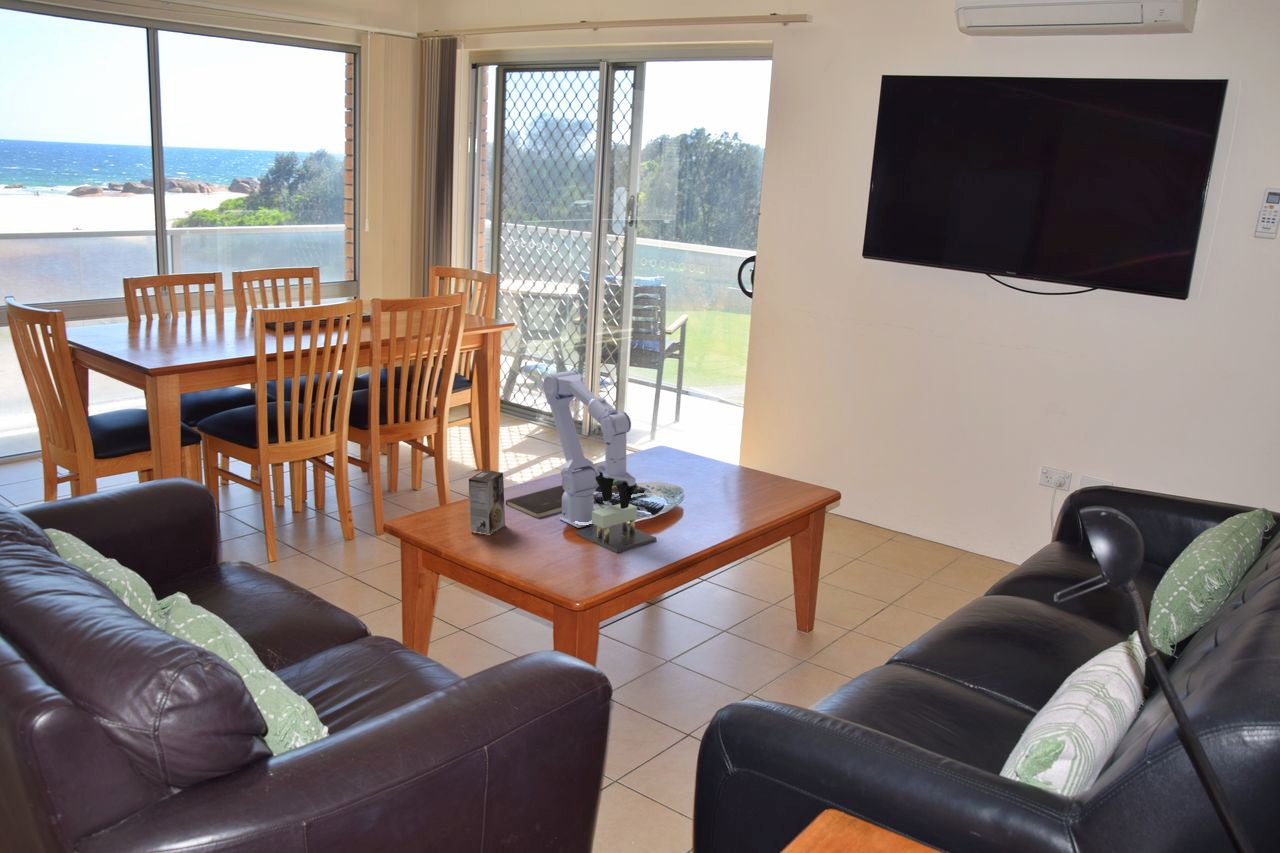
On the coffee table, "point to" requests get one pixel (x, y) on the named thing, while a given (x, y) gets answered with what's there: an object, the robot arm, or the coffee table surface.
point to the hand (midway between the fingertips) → (615, 504)
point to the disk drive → (616, 482)
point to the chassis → (617, 536)
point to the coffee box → (487, 501)
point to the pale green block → (613, 515)
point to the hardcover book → (539, 502)
